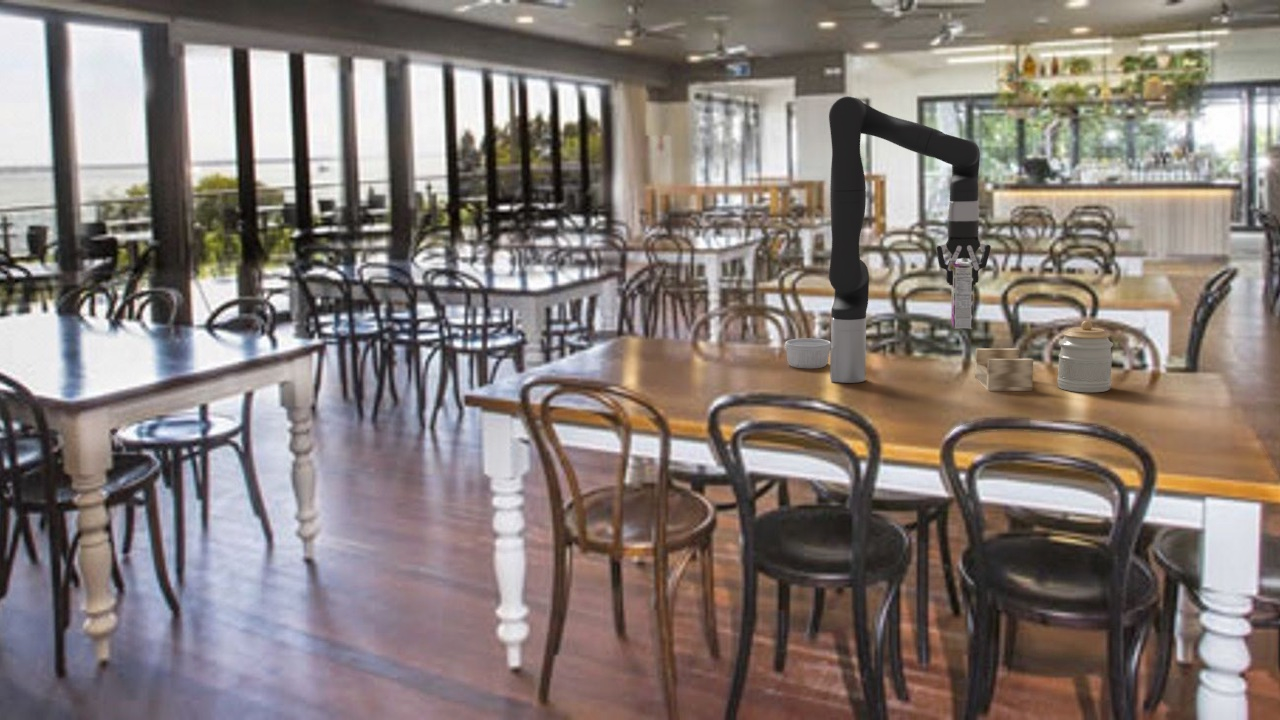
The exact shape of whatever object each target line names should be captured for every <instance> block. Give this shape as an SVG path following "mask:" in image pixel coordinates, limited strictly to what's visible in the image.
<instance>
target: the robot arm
mask: <svg viewBox="0 0 1280 720" xmlns="http://www.w3.org/2000/svg"><path fill="white" fill-rule="evenodd" d="M828 121H829V122H828V123H829V130H830V139H831V152H832V153H831V167H830V195H829V196H830V200H829V201H830V203H829V204H830V230H831V251H830V252H831V253H830V261H829V269H828V270H829V271H828V280H829V283H830V285H831V287H832V288H833V289H834V300H833V304H832V306H831V318H830V319H831V321H830V322H831V328H830V330H831V331H830V340H831V341H830V342H831V345H830V351H829V357H830V358H829V359H830V360H829V363H830V365H829V375H830V376H829V378H830V381H831V382H832V383H842V384H855V383H857V384H858V383H862V382H865V381H866V354H867V353H866V350H867V348H866V346H867V341H866V340H867V336H866V335H867V309H868V305H869V291H870V290H869V287H870V286H869V285H870V274H869V273H870V272H869V268H868V266H867V264H866V263H865V261H863V260H862V259H861V258H860V257H861V256H860V238H861V233H862V228H863V224H864V221H865V220H864V219H865V213H866V207H867V206H866V205H867V203H866V202H867V201H866V200H867V199H866V198H867V197H866V195H867V194H866V193H867V189H866V188H867V185H866V184H867V183H866V176H865V169H864V166H863V161H862V156H861V155H862V154H861V139H862V137H861V136H862V134H863V135H869V136H871V137H872V136H873V137H875V138H880V139H883V140H886V141H887V142H890V143H892V144H893V145H897V146H899V147H901V148H903V149H906V150H908V151H910V152H914V153H917V154H920V155H923V156H925V157H930V158H933V159H937V160H939V161H942V162H944V163H946V164H949V165H951V180H950V184H949V204H948V205H949V206H948V213H947V220H948V221H947V222H948V224H947V225H948V226H947V241H946V243H945V244H940V245H939V244H937V245H935V251H936V256H937V260H938V261H937V262H938V265H939V266H938V267H939V268H941V269H943V270H946V282H947V283H948V286H952V285H953V271H952V269H953V266H954V264H955V262H957V260H959V259H960V260H961V259H967V260H969V262H970V263H971V264H972V266H973V286H976V283H978V282H979V270H981V269H985V268H986V267H987V265H988V259H989V255H990V251H991V249H992V246H991V245H990V244H988V243H987V244H985V243H984V244H983V243H981V242H980V239H979V225H980V224H979V222H980V219H979V218H980V217H979V216H980V209H979V181H978V179H979V172H980V157H981V153H980V151H981V150H980V148H979V146H978V145H977V143H976V142H974V141H972V140H971V139H970V140H969V139H964V138H961V137H957V136H954V135H950V134H946V133H944V132H943V131H941V130H938V129H935V128H933V127H930V126H927V125H924V124H920V123H918V122H913V121H910V120H907V119H902V118H900V117H899V118H898V117H896V116H893V115H890V114H887V113H884V112H883V111H880V110H877V109H876V108H874V107H873V106H870V105H868V104H866V103H864V102H863V101H862V100H861V99H859V98H857V97H853V96H850V95H849V96H841V97H839V98H837V99H836V100H835V101H834V102H833V103H832V105H831V106H830V109H829V112H828ZM946 249H947V250H948V252H949V253H950V257H949V259H948V262H947V264H946V263H945V258H944V254H945V253H946ZM979 249H980V252H981V253H982V254H981V257H980V258H981V259H980V262H979V263H978V261H977V257H976V255H975V254H976V252H978V250H979ZM947 283H946V284H947Z"/></svg>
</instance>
